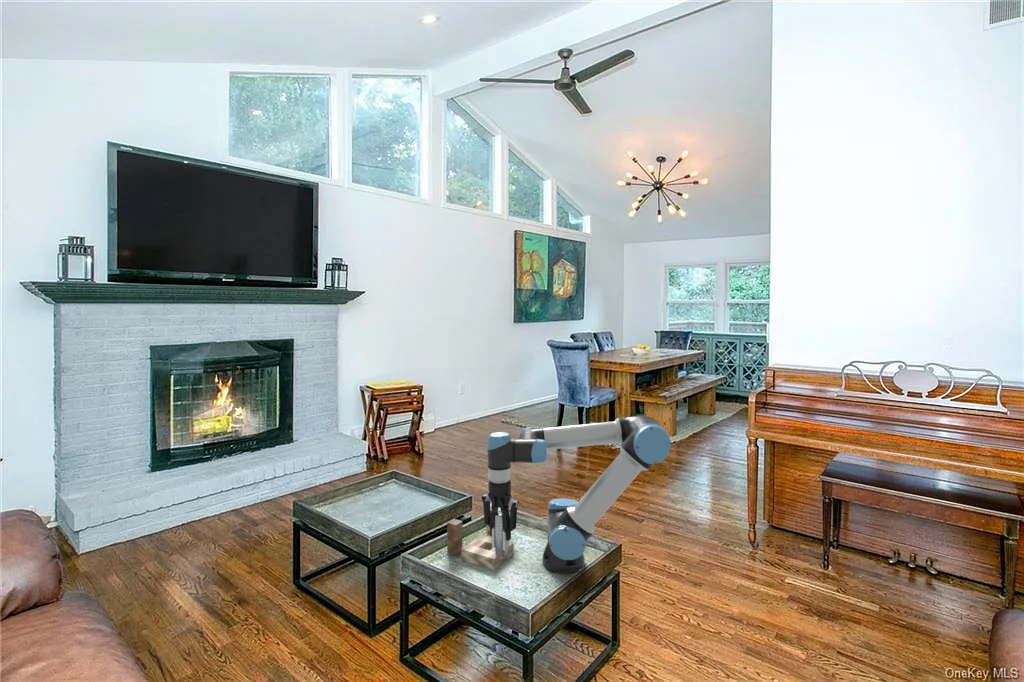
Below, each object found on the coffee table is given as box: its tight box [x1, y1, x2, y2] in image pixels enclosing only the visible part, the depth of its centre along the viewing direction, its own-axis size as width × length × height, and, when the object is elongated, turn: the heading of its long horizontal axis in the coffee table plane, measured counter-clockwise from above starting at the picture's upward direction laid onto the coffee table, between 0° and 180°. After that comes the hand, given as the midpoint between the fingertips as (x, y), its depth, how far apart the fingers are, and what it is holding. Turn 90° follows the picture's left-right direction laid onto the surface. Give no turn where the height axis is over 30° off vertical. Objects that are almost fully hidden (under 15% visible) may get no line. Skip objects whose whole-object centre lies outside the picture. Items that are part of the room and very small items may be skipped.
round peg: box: [495, 512, 506, 557], centre depth 176 cm, size 4×4×14 cm
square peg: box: [446, 518, 463, 557], centre depth 196 cm, size 4×4×12 cm
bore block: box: [460, 534, 515, 571], centre depth 194 cm, size 14×14×4 cm
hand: (500, 547), depth 176 cm, fingers closed on round peg, 3 cm apart
